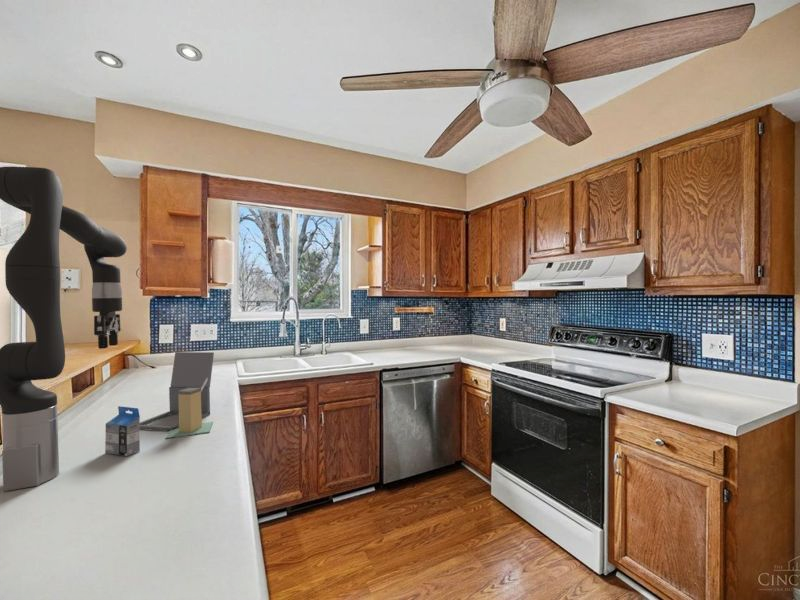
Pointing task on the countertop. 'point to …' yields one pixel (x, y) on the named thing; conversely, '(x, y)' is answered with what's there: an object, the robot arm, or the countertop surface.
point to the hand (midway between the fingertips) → (108, 346)
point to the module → (189, 409)
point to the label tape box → (123, 432)
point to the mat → (204, 429)
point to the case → (187, 383)
